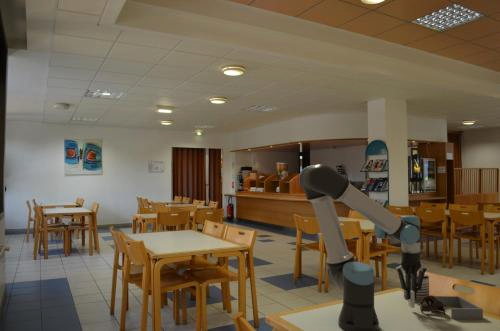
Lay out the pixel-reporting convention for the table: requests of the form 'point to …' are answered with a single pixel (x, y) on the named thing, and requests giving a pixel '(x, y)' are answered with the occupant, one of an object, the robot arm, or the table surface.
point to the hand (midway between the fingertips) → (411, 306)
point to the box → (467, 308)
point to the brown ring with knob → (431, 304)
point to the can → (424, 288)
